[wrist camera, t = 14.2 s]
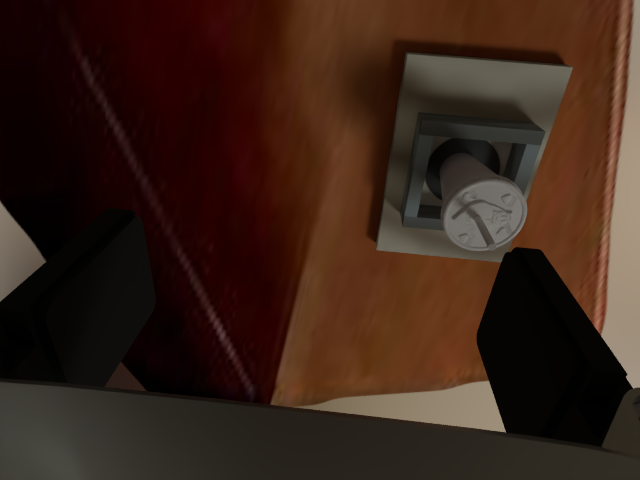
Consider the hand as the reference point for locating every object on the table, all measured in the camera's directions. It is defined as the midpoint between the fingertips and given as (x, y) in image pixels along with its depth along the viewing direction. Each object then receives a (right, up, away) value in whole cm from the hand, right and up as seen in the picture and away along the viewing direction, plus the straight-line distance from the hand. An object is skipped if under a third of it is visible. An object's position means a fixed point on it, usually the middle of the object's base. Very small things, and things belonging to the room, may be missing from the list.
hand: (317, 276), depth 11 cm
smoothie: (+14, +8, +30) cm, 34 cm away
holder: (+14, +8, +31) cm, 35 cm away
